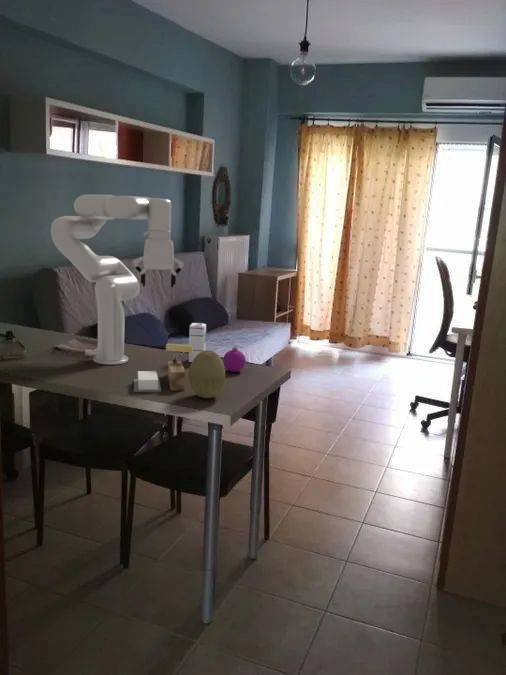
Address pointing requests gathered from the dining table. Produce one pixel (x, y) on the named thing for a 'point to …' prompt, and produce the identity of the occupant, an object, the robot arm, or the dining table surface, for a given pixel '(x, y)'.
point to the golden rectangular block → (178, 349)
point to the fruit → (207, 374)
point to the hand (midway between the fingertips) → (158, 286)
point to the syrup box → (197, 339)
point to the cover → (147, 380)
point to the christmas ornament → (234, 360)
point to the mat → (145, 390)
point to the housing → (176, 375)
